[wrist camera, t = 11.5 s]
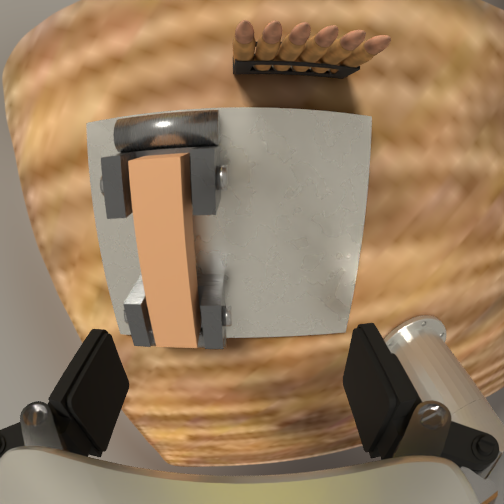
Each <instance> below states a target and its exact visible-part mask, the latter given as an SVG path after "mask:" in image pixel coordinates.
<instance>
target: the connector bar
mask: <svg viewBox="0 0 504 504" xmlns="http://www.w3.org/2000/svg"><path fill="white" fill-rule="evenodd" d="M128 165H129V179H130V190H131V201H132V210H133V219H134V227H135V235H136V242H137V249H138V256H139V262H140V268H141V274H142V280H143V286H144V291H145V296H146V301H147V306H148V311H149V316H150V321H151V325H152V330H153V334H154V339H155V343H156V346H157V347H180V348H197V346H198V340H199V334H200V329H201V314H200V305H199V295H198V284H197V273H196V261H195V249H194V235H193V220H192V202H191V181H190V154H189V153H178V154H163V155H151V156H143V157H140V158H136V159H133V160H130V161H128Z"/></svg>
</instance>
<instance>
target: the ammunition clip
mask: <svg viewBox="0 0 504 504" xmlns="http://www.w3.org/2000/svg"><path fill="white" fill-rule="evenodd" d="M310 31H311V28H310V25H309V23H307V22H303V23H300V24H298V25H297V26H295V27H294V28H293V30H292V31H291V32H290V33H289V35H287V36H286V37H285V38H284V39H283V41H282V42H280V40H281V36H282V26H281V24H280V22H279V21H276V20H275V21H272V22H270V23H269V24H268V25H267V26H266V27H265V29H264V31H263V33H262V35H261V36H260V38H259V39H258V42H256V41H255V38H254V30H253V26H252V25H251V23H250V22H249V21H247V20H243V21H241V22H240V23H239V25H238V26H237V28H236V32H235V38H234V39H233V74H235V75H236V74H287V75H307V76H321V77H332V78H341V79H343V78H345V77H347V76H348V75H350V74H352V73H354V72H356V71H358V70H360V65H362V64H364V63H366V62H368V61H369V60H371V59H372V58H373V57H374V56H375V55H377V54H378V53H380V52H381V51H383V50H384V49H385V48H386V47H387V46H388V45H389V43H390V41H391V37H390V36H387V35H381V36H376V37H373V38H371V39H369V40H366V41H364V42H363V40H364V38H365V35H366V33H365V31H363V30H355V31H351V32H349V33H347V34H346V35H344V36H343V37H341V38H340V39H336V38H337V36H338V27H337V26H334V25H332V26H328V27H325V28H324V29H322V30H321V31H319V32H318V33H317V34H316V35H315V36H313V37H311V38H310V39H308V38H309V35H310ZM307 39H308V41H307ZM335 39H336V40H335ZM255 47H256V52H255ZM254 52H255V54H254Z"/></svg>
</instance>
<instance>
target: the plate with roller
mask: <svg viewBox="0 0 504 504" xmlns="http://www.w3.org/2000/svg"><path fill="white" fill-rule="evenodd" d="M371 126H372V117H371V116H365V115H357V114H349V113H340V112H331V111H320V110H307V109H290V108H254V107H242V108H206V109H189V110H176V111H165V112H155V113H147V114H139V115H131V116H124V117H118V118H112V119H106V120H100V121H95V122H90V123H87V146H88V161H89V173H90V183H91V192H92V201H93V208H94V215H95V222H96V228H97V234H98V240H99V246H100V251H101V256H102V261H103V266H104V271H105V275H106V280H107V284H108V289H109V293H110V297H111V301H112V305H113V308H114V312H115V316H116V320H117V323H118V327H119V330H120V333H121V334H126V335H131V336H132V339H133V343H134V346H145V347H151V346H156V343H155V339H154V334H153V330H152V325H151V321H150V316H149V311H148V306H147V301H146V296H145V291H144V286H143V280H142V274H141V268H140V262H139V256H138V249H137V242H136V235H135V227H134V219H133V210H132V201H131V190H130V179H129V165H128V161H130V160H133V159H136V158H140V157H143V156H151V155H163V154H178V153H189V154H190V181H191V202H192V220H193V235H194V249H195V261H196V273H197V284H198V295H199V305H200V314H201V329H200V334H199V340H198V346H197V348H205V349H223V348H226V344H227V338H250V337H282V336H302V335H318V334H331V333H343V332H346V328H347V323H348V318H349V314H350V309H351V304H352V298H353V293H354V287H355V282H356V276H357V270H358V264H359V257H360V250H361V243H362V236H363V228H364V220H365V211H366V202H367V191H368V180H369V166H370V150H371Z"/></svg>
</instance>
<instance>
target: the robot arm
mask: <svg viewBox="0 0 504 504" xmlns="http://www.w3.org/2000/svg"><path fill="white" fill-rule="evenodd" d="M445 340H446V329H445V326H444V325H443V323H442V322H441V321H440V320H439V319H438V318H436V317H434V316H429V315H424V316H418V317H415V318H412V319H410V320H407V321H405V322H404V323H402V324H400V325H399V326H398V327H396V328H395V329H394V330H392V331H391V332H390V333H389V334H388V335H387V336H386V337H385V338H384V340H383V338H382V336H381V334H380V333H379V331H378V329H377V328H376V326H375V325H374V323H367V324H359V325H358V327H357V328H356V329H354V330H353V333H352V338H351V343H350V348H349V353H348V358H347V362H346V367H345V371H344V376H343V386H344V389H345V392H346V395H347V398H348V401H349V404H350V407H351V410H352V413H353V416H354V419H355V422H356V426H357V429H358V432H359V435H360V438H361V441H362V445H363V448H364V450H365V452H369V453H370V456H371V458H375V457H379V456H381V459H382V460H379V461H374V462H368V463H363V464H358V465H352V466H347V467H341V468H334V469H328V470H320V471H313V472H304V473H294V474H282V475H263V476H213V475H196V474H184V473H173V472H165V471H157V470H150V469H144V468H138V467H132V466H126V465H122V464H117V463H112V462H108V461H103V460H99V459H94V458H90V457H88V455H93V456H97V457H101V455H102V452H103V451H106V449H107V447H108V444H109V441H110V438H111V435H112V432H113V429H114V427H115V424H116V421H117V419H118V416H119V413H120V410H121V408H122V405H123V402H124V400H125V397H126V394H127V392H128V389H129V381H128V378H127V376H126V373H125V371H124V368H123V365H122V363H121V360H120V358H119V355H118V352H117V350H116V347H115V344H114V341H113V338H112V336H111V334H108V332H107V331H106V330H101V329H92V330H91V331H90V333H89V334H88V336H87V337H86V339H85V340H84V342H83V343H82V345H81V347H80V348H79V350H78V351H77V353H76V354H75V356H74V358H73V359H72V361H71V362H70V364H69V365H68V367H67V369H66V370H65V372H64V373H63V375H62V377H61V378H60V380H59V382H58V383H57V385H56V387H55V388H54V390H53V392H52V393H51V395H50V397H49V403H48V404H46V403H44V402H41V401H36V402H32V403H30V404H28V405H27V406H26V407H25V408H24V409H23V410H22V412H21V415H20V422H19V423H17V424H14V425H12V426H9V427H7V428H4V429H2V430H0V504H504V425H503V423H502V422H501V421H500V419H499V418H498V416H497V415H496V413H495V412H494V411H493V409H492V408H491V406H490V405H489V403H488V402H487V400H486V399H485V397H484V396H483V394H482V393H481V391H480V390H479V388H478V387H477V386H476V384H475V383H474V381H473V380H472V379H471V377H470V376H469V374H468V373H467V372H466V370H465V369H464V368H463V366H462V365H461V363H460V362H459V361H458V359H457V358H456V357H455V355H454V354H453V353H452V352H451V350H450V349H449V348H448V346H447V345H446V344H445Z"/></svg>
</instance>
